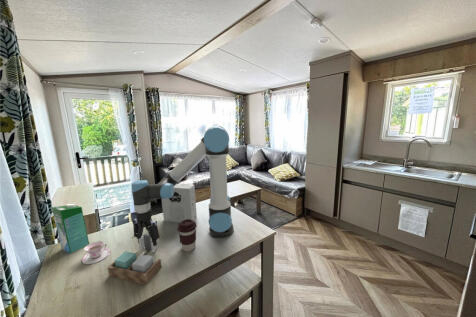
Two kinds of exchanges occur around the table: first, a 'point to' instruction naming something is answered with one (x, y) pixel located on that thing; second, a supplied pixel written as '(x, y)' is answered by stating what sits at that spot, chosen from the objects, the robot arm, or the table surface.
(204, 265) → the table surface
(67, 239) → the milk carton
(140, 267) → the slate block
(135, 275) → the wooden tray
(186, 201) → the cereal box
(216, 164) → the robot arm
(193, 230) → the coffee cup
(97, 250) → the teacup
